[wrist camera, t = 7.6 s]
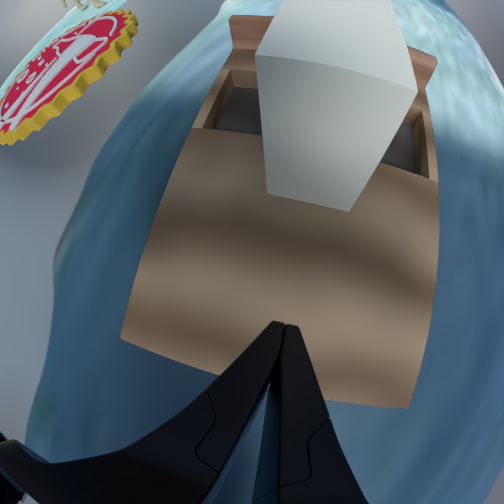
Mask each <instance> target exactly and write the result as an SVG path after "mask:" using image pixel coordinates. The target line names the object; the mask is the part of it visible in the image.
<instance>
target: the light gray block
mask: <svg viewBox="0 0 504 504" xmlns="http://www.w3.org/2000/svg"><path fill="white" fill-rule="evenodd" d="M255 64H256V73H257V83H258V94H259V104H260V115H261V126H262V137H263V149H264V160H265V173H266V185H267V194H271V195H276V196H281V197H285V198H290V199H295V200H299V201H304V202H308V203H313V204H317V205H321V206H325V207H330V208H334V209H338V210H342V211H346V212H349V211H350V210H351V208H352V206H353V205H354V203H355V202H356V200H357V198H358V197H359V195H360V194H361V192H362V190H363V189H364V187H365V185H366V184H367V182H368V181H369V179H370V177H371V176H372V174H373V172H374V171H375V169H376V167H377V165H378V164H379V162H380V160H381V159H382V157H383V155H384V153H385V152H386V150H387V148H388V146H389V145H390V143H391V141H392V139H393V138H394V136H395V134H396V132H397V130H398V129H399V127H400V125H401V123H402V121H403V119H404V118H405V116H406V114H407V112H408V110H409V108H410V106H411V104H412V102H413V101H414V99H415V97H416V95H417V93H418V89H417V84H416V80H415V75H414V71H413V67H412V63H411V59H410V56H409V52H408V48H407V45H406V42H405V38H404V35H403V32H402V29H401V26H400V23H399V20H398V18H397V15H396V12H395V10H394V7H393V5H392V2H391V0H283V2H282V3H281V5H280V7H279V9H278V11H277V12H276V14H275V16H274V18H273V20H272V22H271V23H270V25H269V27H268V29H267V31H266V33H265V35H264V37H263V39H262V41H261V43H260V45H259V47H258V49H257V51H256V53H255Z"/></svg>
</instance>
